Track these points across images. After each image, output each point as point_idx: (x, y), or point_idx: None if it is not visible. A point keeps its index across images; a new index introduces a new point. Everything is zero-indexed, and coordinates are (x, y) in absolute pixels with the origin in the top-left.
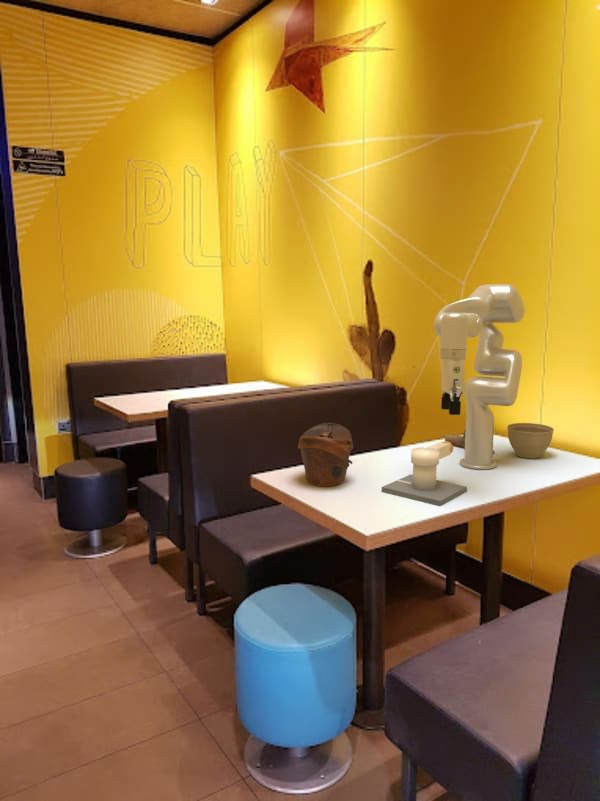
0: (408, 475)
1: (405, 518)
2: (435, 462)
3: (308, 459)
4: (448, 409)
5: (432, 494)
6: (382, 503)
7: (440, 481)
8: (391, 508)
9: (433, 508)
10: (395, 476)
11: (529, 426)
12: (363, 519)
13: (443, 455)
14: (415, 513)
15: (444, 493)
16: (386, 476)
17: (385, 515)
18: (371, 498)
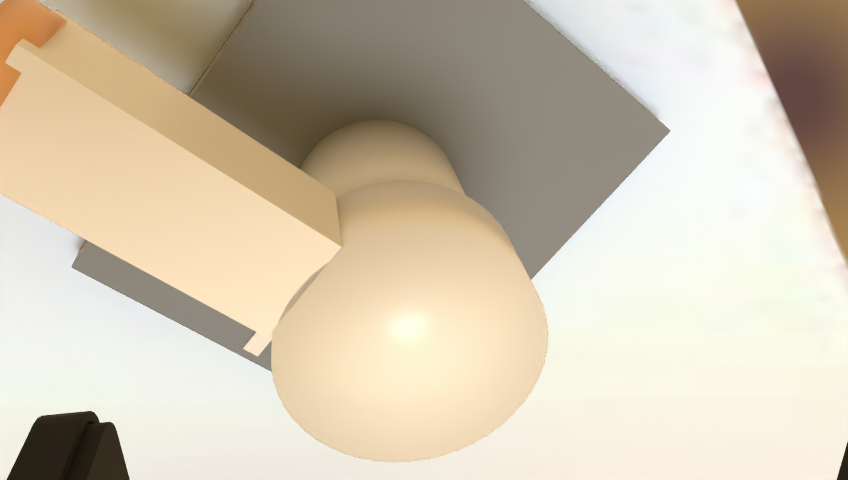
0: (102, 280)
1: (798, 310)
2: (504, 233)
3: None
4: (115, 470)
5: (542, 163)
6: (577, 404)
7: (231, 63)
8: (654, 366)
9: (687, 162)
10: (37, 339)
11: None
12: (769, 467)
13: (213, 122)
14: (744, 262)
15: (526, 80)
16: (52, 391)
17: (741, 390)
18: (497, 451)
